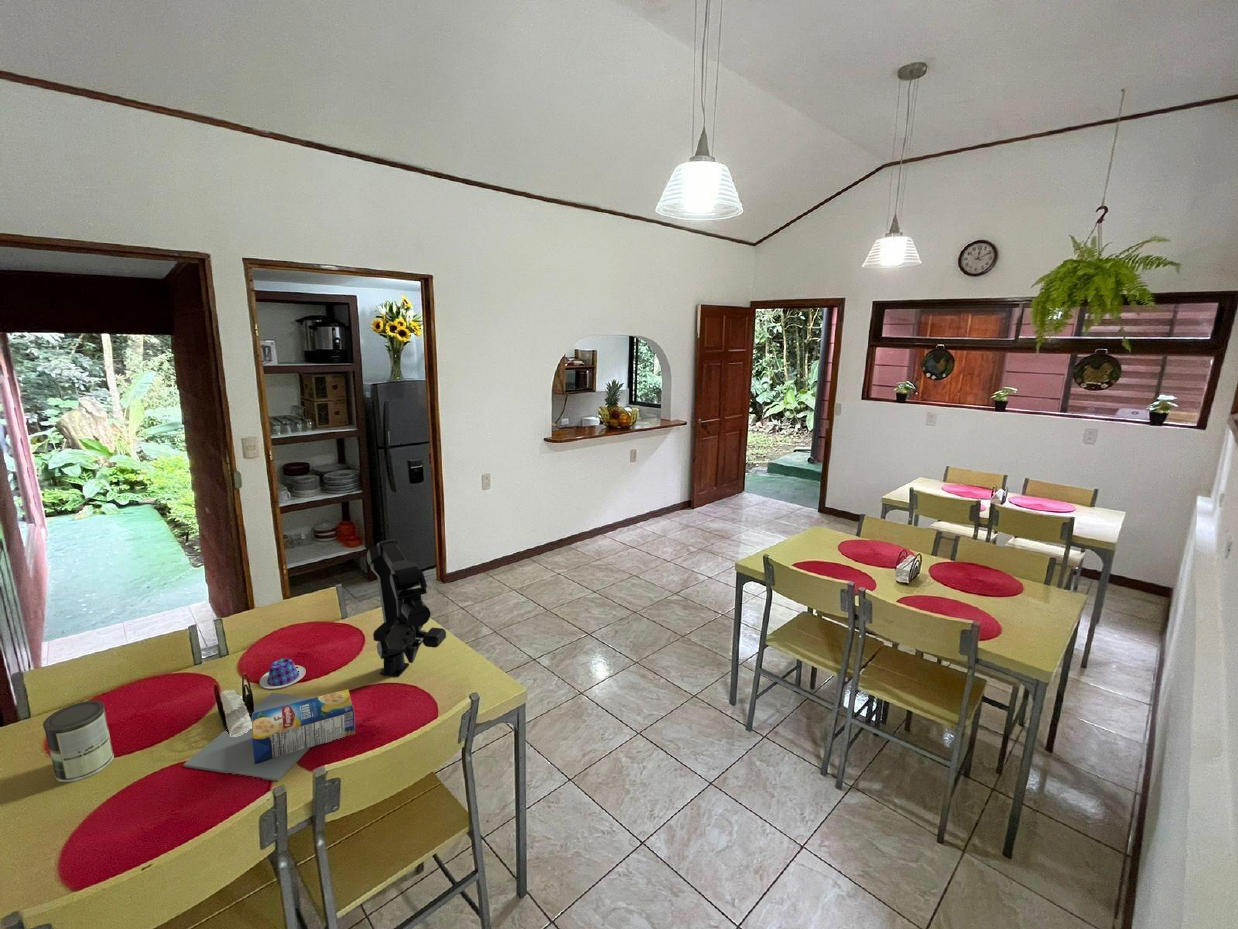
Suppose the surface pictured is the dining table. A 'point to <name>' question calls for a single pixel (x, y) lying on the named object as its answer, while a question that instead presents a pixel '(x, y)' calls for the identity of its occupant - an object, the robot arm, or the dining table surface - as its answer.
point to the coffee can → (78, 740)
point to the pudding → (282, 674)
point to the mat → (246, 750)
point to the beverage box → (302, 725)
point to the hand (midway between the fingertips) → (411, 662)
